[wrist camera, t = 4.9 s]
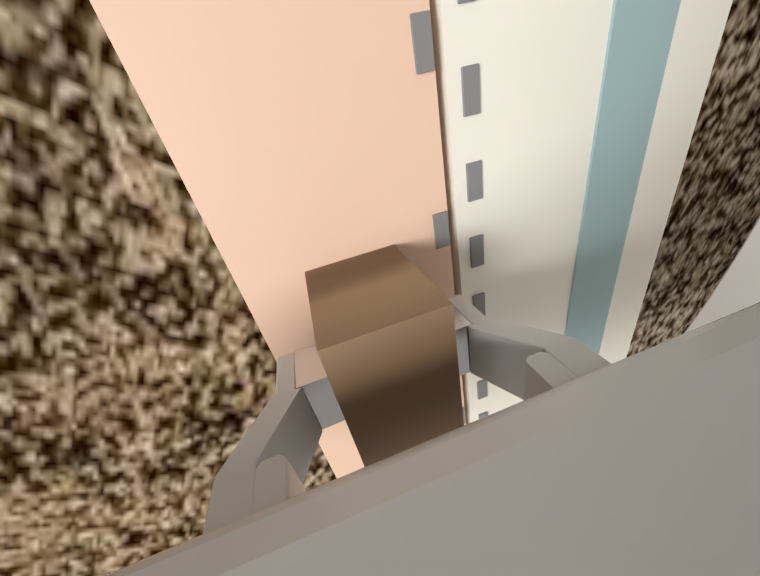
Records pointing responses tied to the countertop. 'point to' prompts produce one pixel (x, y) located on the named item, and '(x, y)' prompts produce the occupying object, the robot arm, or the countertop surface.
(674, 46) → the ticket
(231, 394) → the countertop surface
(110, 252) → the countertop surface
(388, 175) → the ticket stub
